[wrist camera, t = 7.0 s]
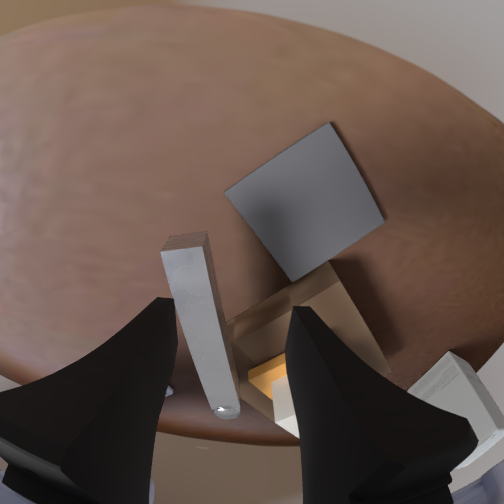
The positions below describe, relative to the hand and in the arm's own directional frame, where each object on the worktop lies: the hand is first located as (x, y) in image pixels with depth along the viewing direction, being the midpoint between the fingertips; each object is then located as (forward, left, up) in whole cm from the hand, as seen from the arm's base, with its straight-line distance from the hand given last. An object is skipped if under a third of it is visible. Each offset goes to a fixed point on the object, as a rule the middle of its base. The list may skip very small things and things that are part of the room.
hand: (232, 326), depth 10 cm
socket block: (-2, -12, -10) cm, 16 cm away
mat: (+5, -2, -10) cm, 12 cm away
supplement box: (+9, -30, -11) cm, 33 cm away
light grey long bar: (-4, -3, -7) cm, 9 cm away
